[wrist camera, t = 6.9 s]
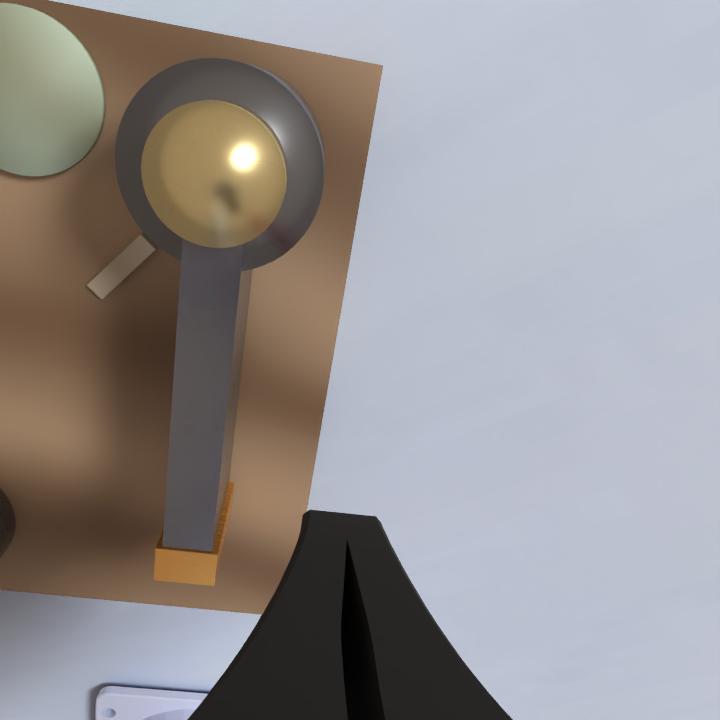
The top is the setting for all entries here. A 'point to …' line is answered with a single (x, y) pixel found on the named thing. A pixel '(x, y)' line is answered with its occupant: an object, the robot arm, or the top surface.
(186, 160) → the dark grey lever
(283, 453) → the walnut base
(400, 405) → the top surface
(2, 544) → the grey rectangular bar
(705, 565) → the top surface
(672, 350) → the top surface
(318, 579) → the robot arm
